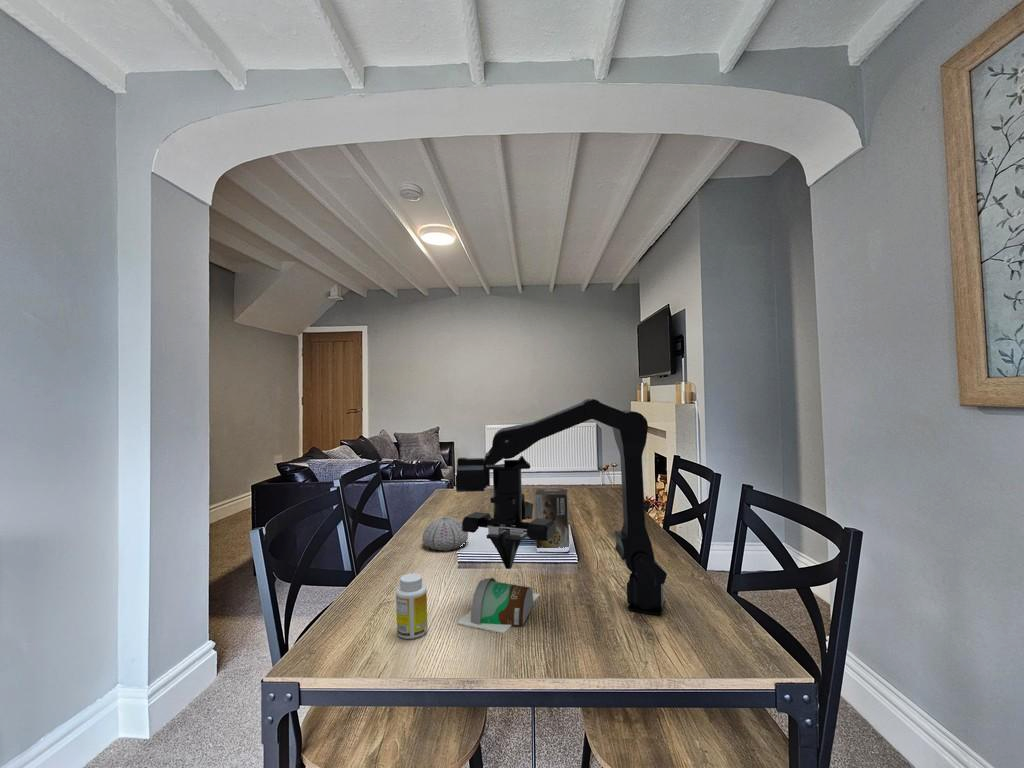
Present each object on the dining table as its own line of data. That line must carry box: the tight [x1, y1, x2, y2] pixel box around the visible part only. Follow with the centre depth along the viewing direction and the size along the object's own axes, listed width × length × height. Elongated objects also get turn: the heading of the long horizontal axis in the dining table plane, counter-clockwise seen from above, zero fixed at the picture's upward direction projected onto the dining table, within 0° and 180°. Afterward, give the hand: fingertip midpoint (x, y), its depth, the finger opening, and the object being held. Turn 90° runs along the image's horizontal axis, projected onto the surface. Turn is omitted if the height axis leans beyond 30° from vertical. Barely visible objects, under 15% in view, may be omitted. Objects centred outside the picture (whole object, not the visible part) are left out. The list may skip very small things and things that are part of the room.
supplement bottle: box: [395, 573, 428, 640], centre depth 91 cm, size 6×6×10 cm
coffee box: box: [534, 488, 570, 548], centre depth 137 cm, size 9×6×16 cm
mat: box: [456, 592, 541, 635], centre depth 100 cm, size 10×18×1 cm, turn 155°
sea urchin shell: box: [421, 516, 469, 552], centre depth 142 cm, size 13×14×8 cm
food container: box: [470, 577, 534, 626], centre depth 98 cm, size 12×6×10 cm
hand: (508, 568), depth 99 cm, fingers closed
